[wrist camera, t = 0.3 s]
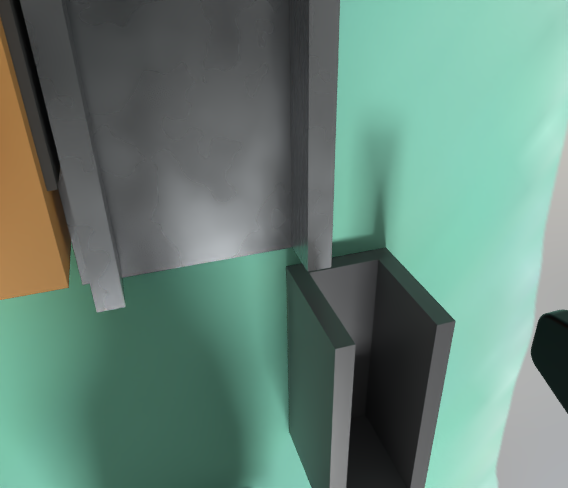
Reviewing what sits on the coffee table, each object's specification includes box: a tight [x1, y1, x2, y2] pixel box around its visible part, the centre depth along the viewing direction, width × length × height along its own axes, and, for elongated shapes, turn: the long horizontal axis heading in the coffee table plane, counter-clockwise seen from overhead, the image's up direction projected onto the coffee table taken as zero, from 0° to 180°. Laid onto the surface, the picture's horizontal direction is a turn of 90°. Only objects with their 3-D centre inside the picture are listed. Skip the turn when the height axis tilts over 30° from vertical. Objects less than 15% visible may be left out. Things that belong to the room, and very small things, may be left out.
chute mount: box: [20, 0, 340, 312], centre depth 17 cm, size 16×10×3 cm, turn 0°
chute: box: [286, 248, 455, 488], centre depth 25 cm, size 11×5×6 cm, turn 0°
